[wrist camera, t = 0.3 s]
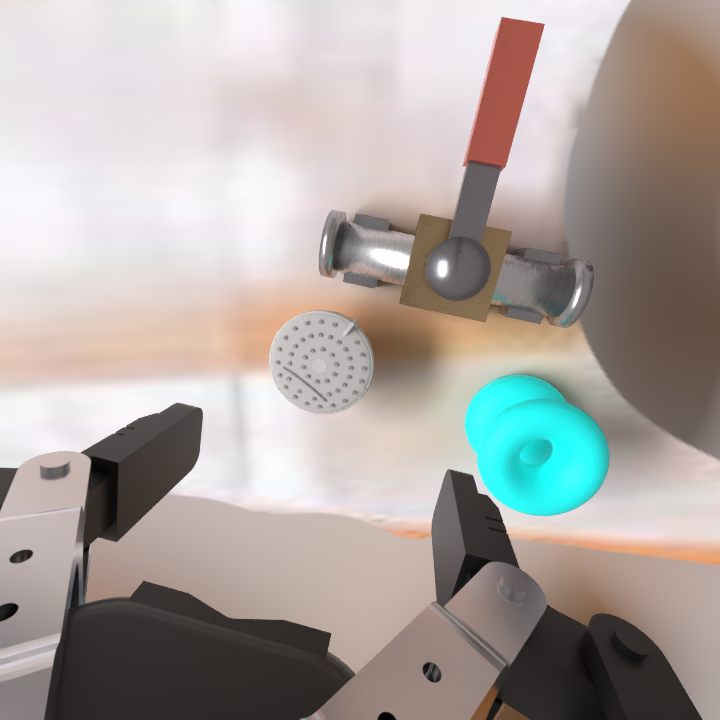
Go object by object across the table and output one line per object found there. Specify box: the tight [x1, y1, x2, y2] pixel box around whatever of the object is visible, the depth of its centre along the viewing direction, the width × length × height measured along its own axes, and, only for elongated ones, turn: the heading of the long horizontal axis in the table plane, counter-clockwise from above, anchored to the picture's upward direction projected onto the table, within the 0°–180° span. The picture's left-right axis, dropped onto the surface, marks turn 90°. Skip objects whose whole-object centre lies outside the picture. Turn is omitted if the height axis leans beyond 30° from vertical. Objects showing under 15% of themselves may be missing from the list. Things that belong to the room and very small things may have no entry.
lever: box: [425, 17, 545, 301], centre depth 26 cm, size 17×4×2 cm, turn 169°
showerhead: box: [269, 310, 374, 414], centre depth 36 cm, size 9×7×10 cm
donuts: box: [465, 375, 609, 516], centre depth 34 cm, size 10×10×10 cm
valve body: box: [319, 210, 594, 328], centre depth 33 cm, size 7×22×8 cm, turn 79°
